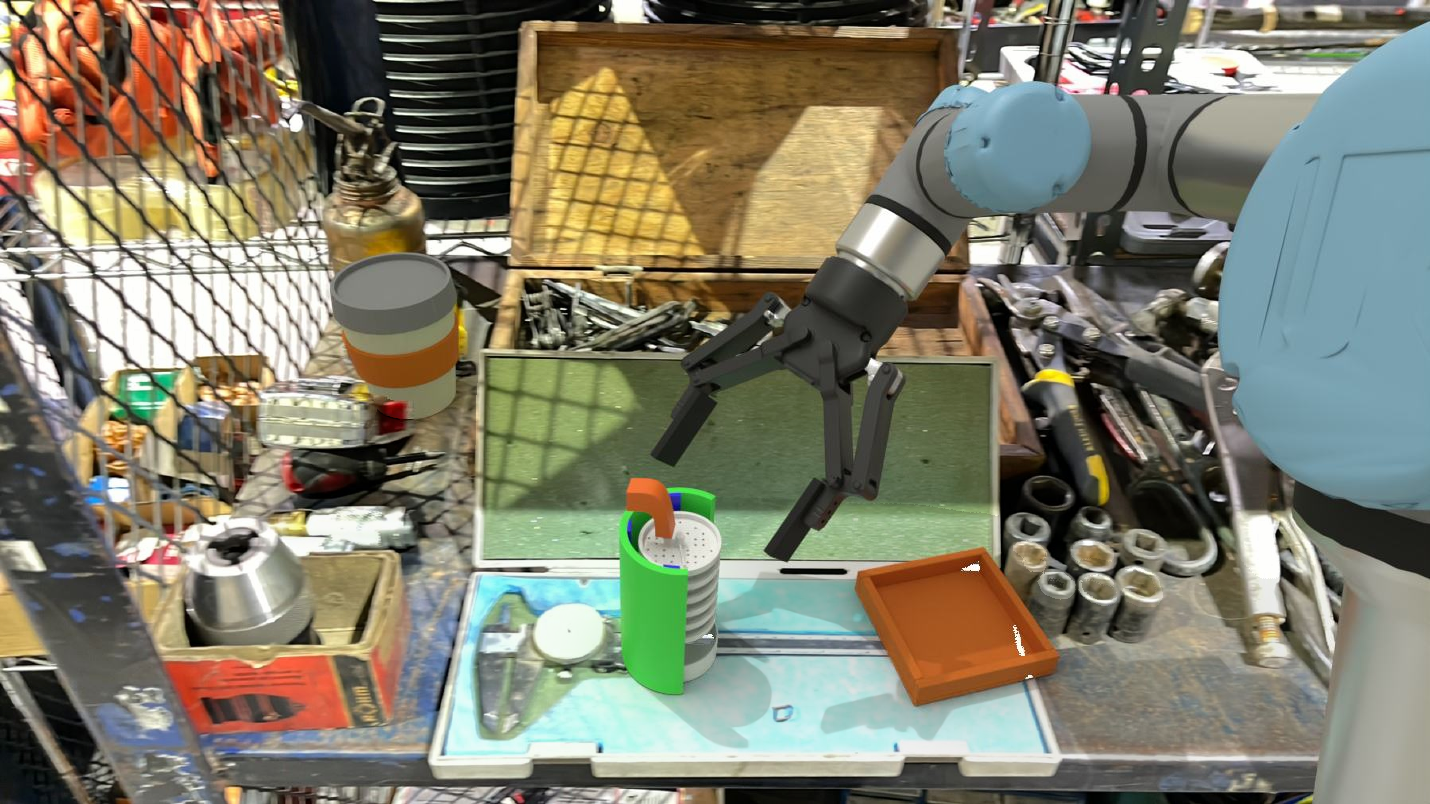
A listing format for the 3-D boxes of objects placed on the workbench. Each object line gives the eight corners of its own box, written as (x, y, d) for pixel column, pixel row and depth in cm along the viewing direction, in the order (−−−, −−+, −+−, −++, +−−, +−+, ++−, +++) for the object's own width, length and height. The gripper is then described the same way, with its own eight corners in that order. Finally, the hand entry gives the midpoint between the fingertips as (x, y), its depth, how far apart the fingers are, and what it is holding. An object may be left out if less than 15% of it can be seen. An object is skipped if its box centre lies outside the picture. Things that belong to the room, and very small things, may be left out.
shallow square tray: (1052, 674, 76) (1060, 656, 74) (914, 706, 73) (919, 688, 71) (978, 564, 85) (984, 546, 84) (854, 589, 82) (857, 570, 81)
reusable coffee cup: (376, 362, 108) (349, 249, 99) (482, 365, 108) (465, 252, 99) (341, 429, 98) (308, 309, 89) (458, 431, 98) (437, 313, 89)
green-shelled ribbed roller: (718, 694, 73) (727, 536, 62) (617, 694, 73) (609, 535, 62) (716, 605, 80) (724, 450, 69) (624, 605, 80) (618, 448, 69)
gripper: (1021, 369, 65) (852, 610, 66) (781, 240, 80) (646, 438, 81) (992, 331, 59) (807, 597, 60) (739, 199, 74) (594, 414, 75)
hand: (715, 506), depth 71 cm, fingers open, 13 cm apart
